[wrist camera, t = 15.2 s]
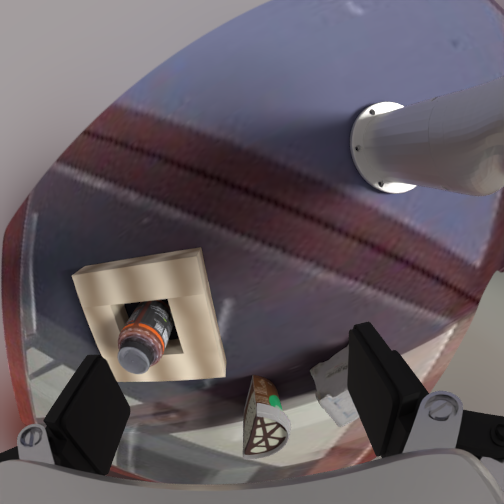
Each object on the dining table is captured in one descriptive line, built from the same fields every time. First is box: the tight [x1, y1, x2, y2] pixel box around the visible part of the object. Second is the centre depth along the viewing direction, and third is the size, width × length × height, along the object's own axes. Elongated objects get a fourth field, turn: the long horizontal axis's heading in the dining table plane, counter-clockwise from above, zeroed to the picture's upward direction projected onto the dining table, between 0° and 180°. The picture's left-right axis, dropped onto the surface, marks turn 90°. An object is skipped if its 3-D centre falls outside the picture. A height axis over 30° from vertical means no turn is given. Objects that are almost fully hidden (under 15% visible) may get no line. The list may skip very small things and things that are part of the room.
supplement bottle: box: [117, 300, 174, 374], centre depth 35 cm, size 6×6×11 cm
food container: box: [243, 375, 291, 459], centre depth 40 cm, size 12×6×10 cm, turn 170°
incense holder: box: [310, 344, 359, 427], centre depth 39 cm, size 10×8×10 cm
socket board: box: [72, 247, 226, 382], centre depth 38 cm, size 18×18×4 cm
